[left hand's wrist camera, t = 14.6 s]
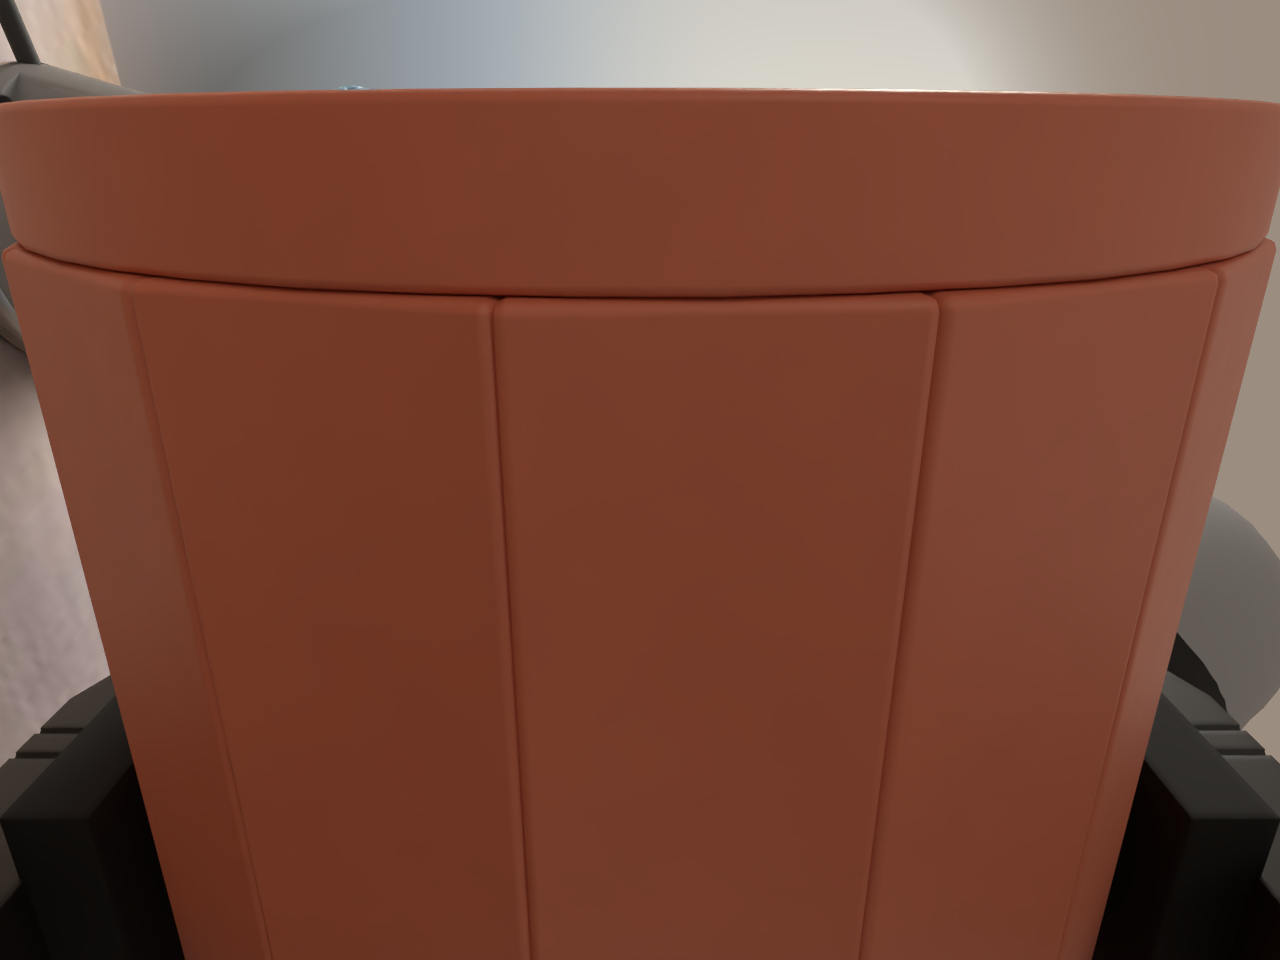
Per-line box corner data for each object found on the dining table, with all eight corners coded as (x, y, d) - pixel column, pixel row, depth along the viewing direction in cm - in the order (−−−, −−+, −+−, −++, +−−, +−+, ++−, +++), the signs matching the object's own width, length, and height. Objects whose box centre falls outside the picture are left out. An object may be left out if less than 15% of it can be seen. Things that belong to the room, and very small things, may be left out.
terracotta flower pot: (1877, 91, 3) (1208, 1502, 8) (948, 125, 12) (870, 777, 16) (-668, 81, 3) (102, 1621, 7) (264, 124, 11) (363, 801, 16)
